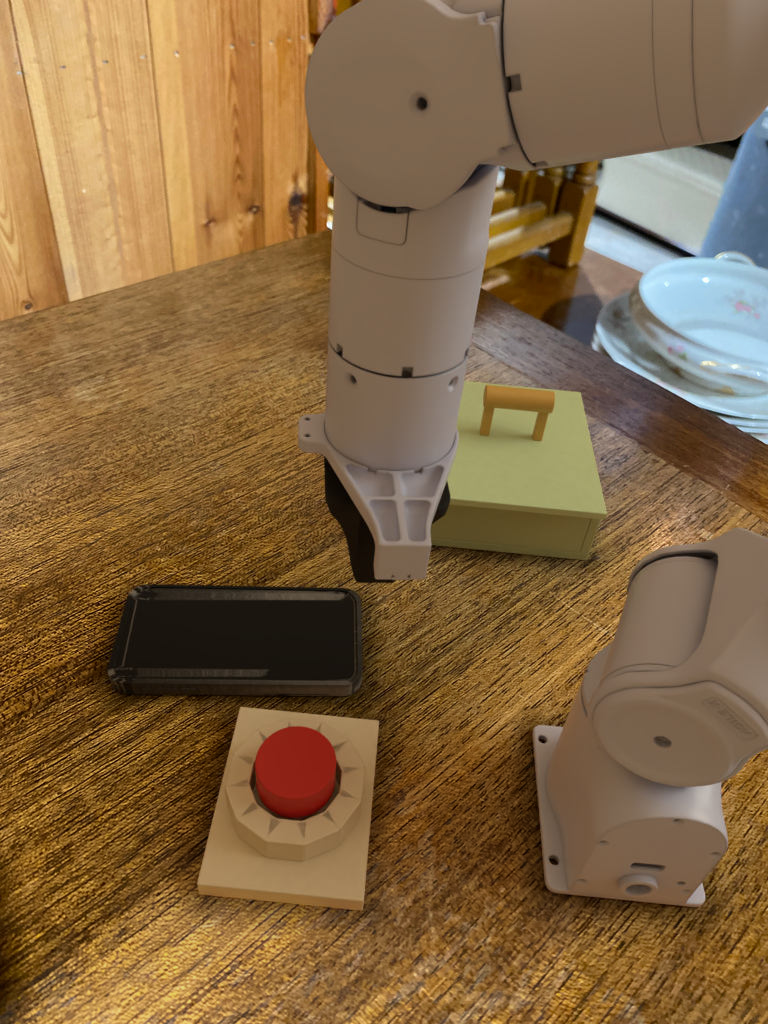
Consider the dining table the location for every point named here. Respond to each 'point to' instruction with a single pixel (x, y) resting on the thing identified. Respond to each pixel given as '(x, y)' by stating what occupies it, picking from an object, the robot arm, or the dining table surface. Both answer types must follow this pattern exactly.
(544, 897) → the dining table surface
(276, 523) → the dining table surface
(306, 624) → the phone
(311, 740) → the release button
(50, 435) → the dining table surface
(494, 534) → the compartment
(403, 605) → the dining table surface
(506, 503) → the compartment door
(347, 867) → the block
